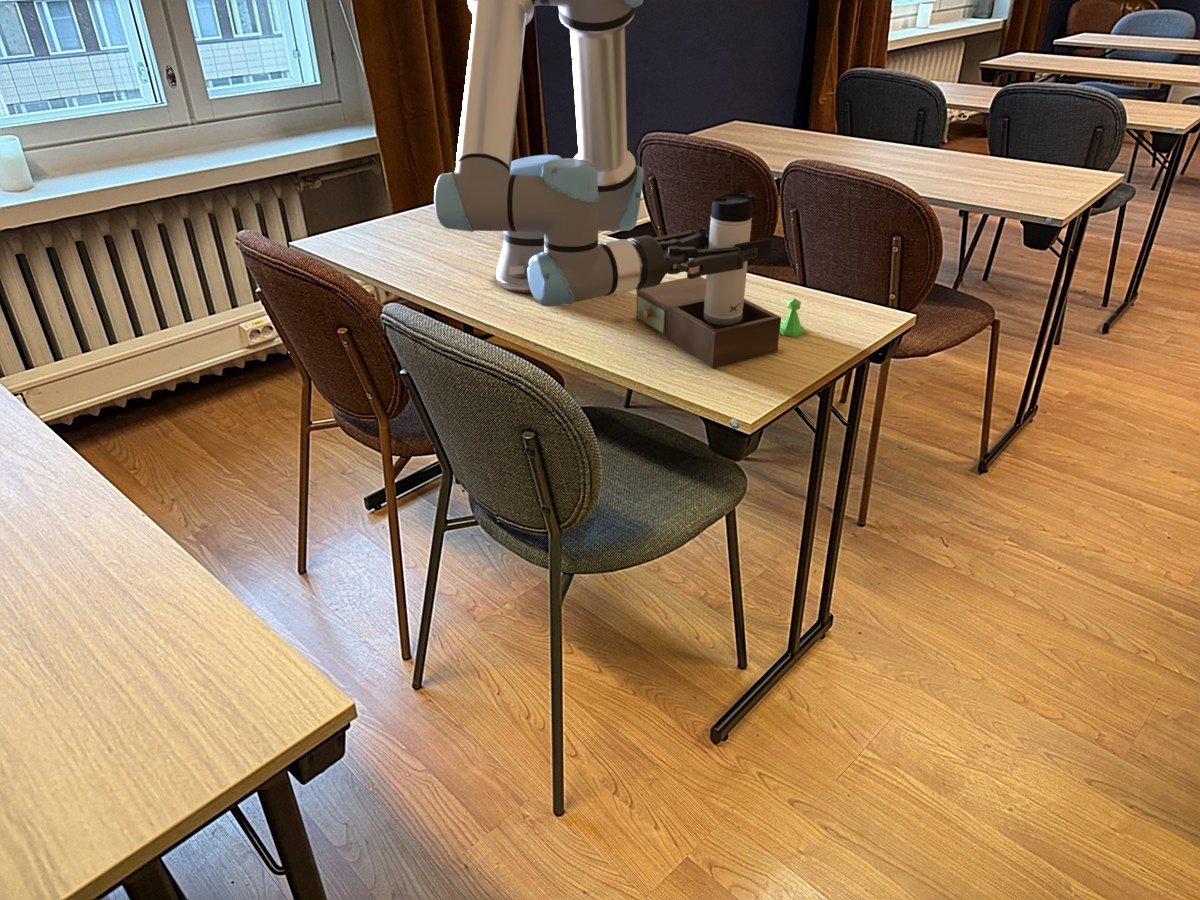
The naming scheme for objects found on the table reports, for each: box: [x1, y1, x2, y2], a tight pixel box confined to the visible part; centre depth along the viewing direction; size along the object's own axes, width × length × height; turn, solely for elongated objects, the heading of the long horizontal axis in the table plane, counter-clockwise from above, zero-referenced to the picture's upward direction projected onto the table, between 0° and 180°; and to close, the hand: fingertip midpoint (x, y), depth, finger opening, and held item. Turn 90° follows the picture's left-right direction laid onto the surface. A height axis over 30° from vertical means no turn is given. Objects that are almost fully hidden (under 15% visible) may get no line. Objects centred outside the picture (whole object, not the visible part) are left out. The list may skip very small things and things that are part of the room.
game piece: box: [779, 298, 805, 337], centre depth 145 cm, size 4×4×6 cm
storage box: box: [635, 276, 782, 369], centre depth 143 cm, size 23×14×6 cm, turn 29°
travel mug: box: [703, 192, 757, 325], centre depth 133 cm, size 6×7×20 cm
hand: (755, 241), depth 135 cm, fingers closed on travel mug, 6 cm apart
